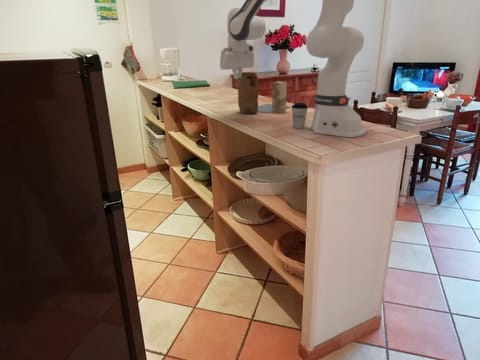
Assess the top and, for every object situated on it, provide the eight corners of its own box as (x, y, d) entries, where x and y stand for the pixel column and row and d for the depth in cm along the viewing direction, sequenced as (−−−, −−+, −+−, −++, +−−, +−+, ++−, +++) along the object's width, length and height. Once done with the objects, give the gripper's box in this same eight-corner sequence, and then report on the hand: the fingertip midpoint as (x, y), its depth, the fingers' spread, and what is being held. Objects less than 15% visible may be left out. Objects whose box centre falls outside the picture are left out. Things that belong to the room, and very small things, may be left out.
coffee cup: (295, 124, 151) (297, 101, 148) (309, 126, 147) (311, 103, 143) (287, 127, 146) (288, 103, 143) (301, 130, 142) (303, 105, 138)
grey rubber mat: (289, 107, 189) (289, 107, 189) (266, 113, 175) (266, 112, 175) (267, 104, 199) (267, 103, 199) (243, 109, 185) (243, 108, 185)
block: (237, 111, 179) (236, 71, 172) (249, 110, 183) (249, 70, 175) (248, 115, 171) (248, 73, 163) (260, 113, 174) (261, 72, 167)
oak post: (285, 112, 178) (286, 82, 172) (279, 113, 174) (280, 83, 168) (277, 110, 181) (278, 81, 175) (271, 112, 177) (272, 82, 172)
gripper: (226, 48, 150) (227, 80, 156) (256, 47, 164) (256, 77, 169) (216, 47, 154) (217, 79, 159) (246, 47, 168) (246, 76, 173)
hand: (237, 78), depth 165 cm, fingers closed
